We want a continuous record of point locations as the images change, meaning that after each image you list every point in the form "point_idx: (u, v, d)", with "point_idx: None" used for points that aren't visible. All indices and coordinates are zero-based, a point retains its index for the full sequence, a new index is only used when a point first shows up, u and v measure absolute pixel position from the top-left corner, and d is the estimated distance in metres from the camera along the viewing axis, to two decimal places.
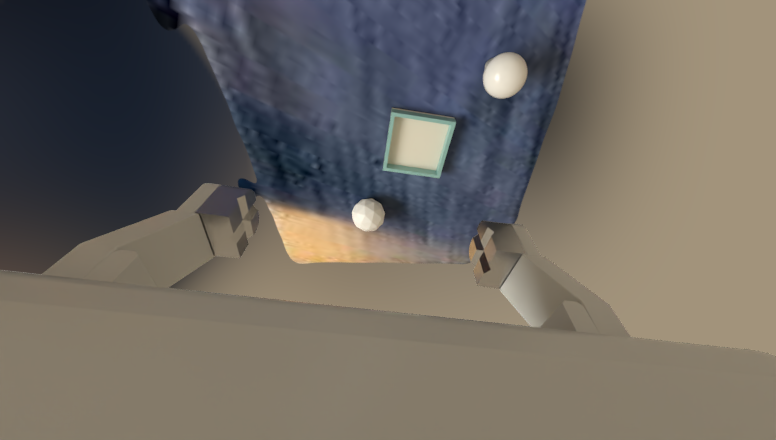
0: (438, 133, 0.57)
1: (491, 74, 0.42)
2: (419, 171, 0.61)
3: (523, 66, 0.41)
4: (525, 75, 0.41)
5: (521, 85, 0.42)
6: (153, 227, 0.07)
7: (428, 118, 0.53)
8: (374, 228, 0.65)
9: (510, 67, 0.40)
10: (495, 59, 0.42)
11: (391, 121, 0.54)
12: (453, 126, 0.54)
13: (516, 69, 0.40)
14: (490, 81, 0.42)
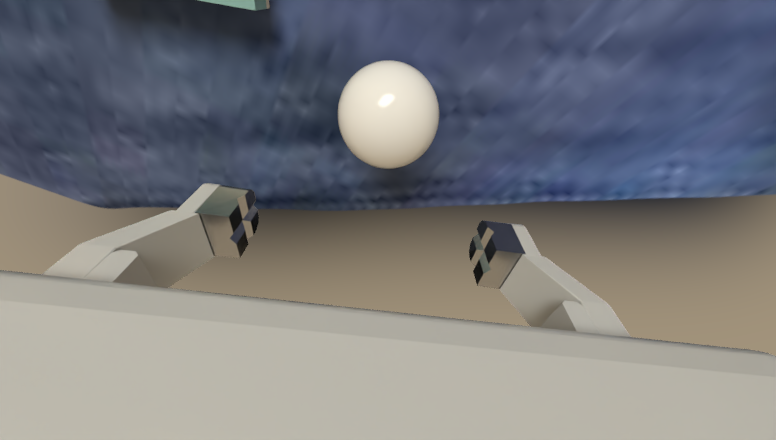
0: None
1: (398, 79, 0.15)
2: None
3: (415, 157, 0.17)
4: (395, 166, 0.18)
5: (374, 163, 0.17)
6: (153, 227, 0.07)
7: None
8: None
9: (417, 128, 0.16)
10: (428, 84, 0.16)
11: None
12: (241, 2, 0.19)
13: (412, 143, 0.16)
14: (379, 82, 0.15)
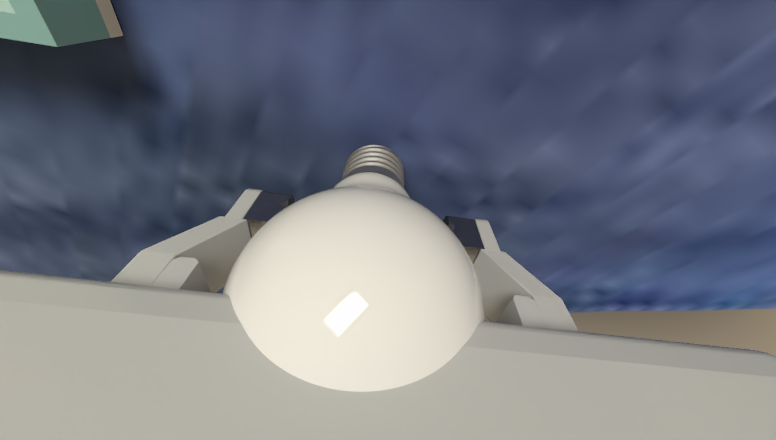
0: None
1: (374, 305, 0.04)
2: None
3: None
4: None
5: None
6: (206, 234, 0.07)
7: None
8: None
9: None
10: (462, 271, 0.06)
11: None
12: (19, 30, 0.08)
13: None
14: (309, 320, 0.04)
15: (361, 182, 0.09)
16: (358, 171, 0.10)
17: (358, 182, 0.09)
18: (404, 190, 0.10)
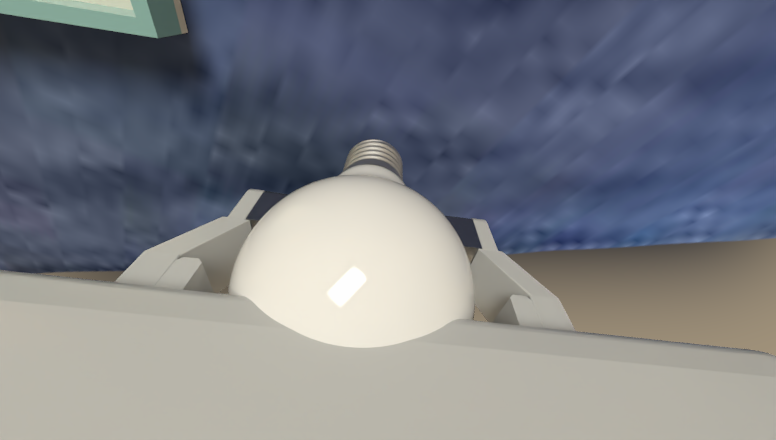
0: None
1: (372, 275, 0.05)
2: None
3: None
4: None
5: None
6: (209, 234, 0.07)
7: None
8: None
9: None
10: (453, 251, 0.06)
11: None
12: (135, 27, 0.13)
13: None
14: (313, 288, 0.05)
15: (361, 173, 0.09)
16: (358, 163, 0.11)
17: (358, 173, 0.09)
18: (402, 182, 0.10)
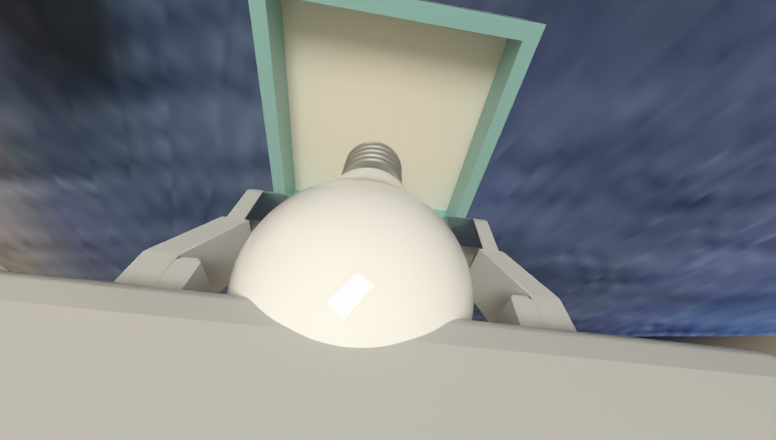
0: (414, 187, 0.20)
1: (370, 281, 0.05)
2: (283, 150, 0.16)
3: None
4: None
5: None
6: (208, 234, 0.07)
7: (482, 169, 0.16)
8: None
9: None
10: (452, 255, 0.06)
11: (504, 22, 0.12)
12: None
13: None
14: (311, 293, 0.05)
15: (360, 176, 0.09)
16: (357, 166, 0.11)
17: (357, 176, 0.09)
18: (401, 184, 0.10)
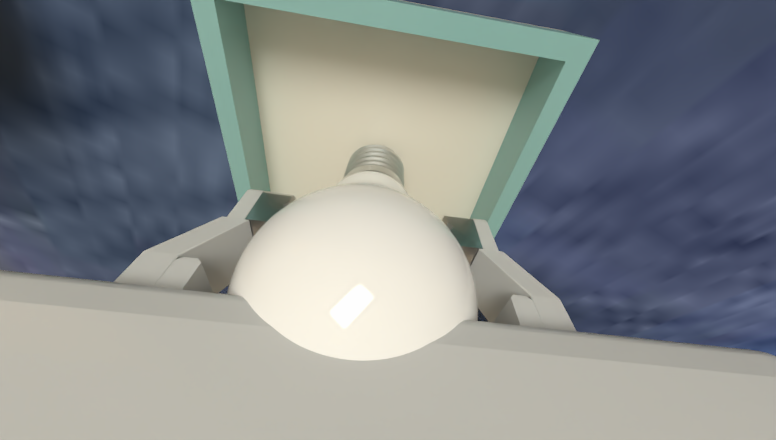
0: None
1: (372, 293, 0.05)
2: None
3: None
4: None
5: None
6: (209, 234, 0.07)
7: (502, 214, 0.13)
8: None
9: None
10: (456, 264, 0.06)
11: (542, 36, 0.09)
12: None
13: None
14: (312, 305, 0.05)
15: (362, 180, 0.09)
16: (359, 170, 0.11)
17: (359, 180, 0.09)
18: (403, 188, 0.10)
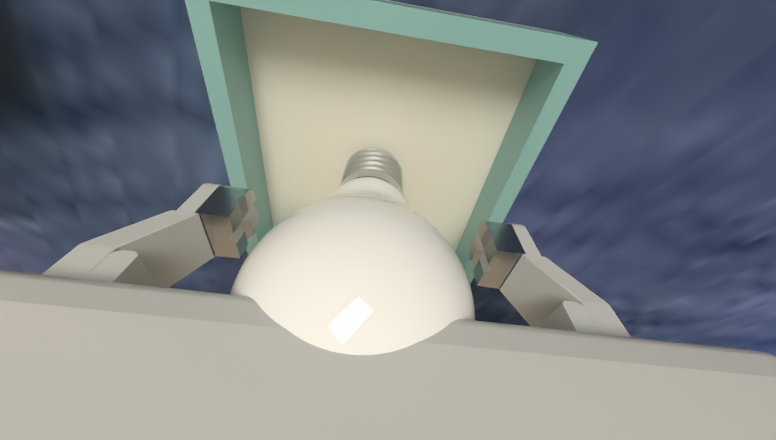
0: None
1: (370, 315, 0.05)
2: None
3: None
4: None
5: None
6: (153, 227, 0.07)
7: (501, 217, 0.13)
8: None
9: None
10: (453, 280, 0.06)
11: (540, 39, 0.09)
12: None
13: None
14: (309, 328, 0.05)
15: (359, 188, 0.09)
16: (356, 175, 0.11)
17: (357, 188, 0.09)
18: (401, 195, 0.10)
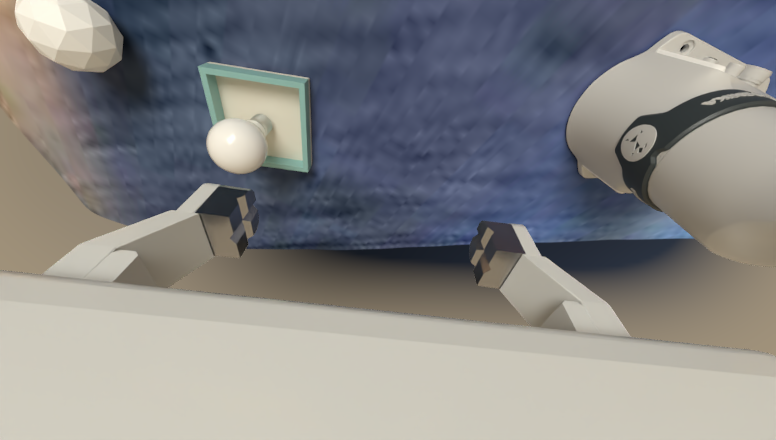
0: (287, 148, 0.42)
1: (228, 130, 0.30)
2: None
3: (250, 168, 0.33)
4: (241, 172, 0.33)
5: (229, 171, 0.33)
6: (153, 227, 0.07)
7: (305, 138, 0.39)
8: (44, 53, 0.29)
9: (241, 154, 0.31)
10: (250, 131, 0.31)
11: (289, 82, 0.34)
12: (302, 169, 0.42)
13: (241, 161, 0.31)
14: (218, 132, 0.30)
15: None
16: (249, 120, 0.36)
17: None
18: (259, 124, 0.35)
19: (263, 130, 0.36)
